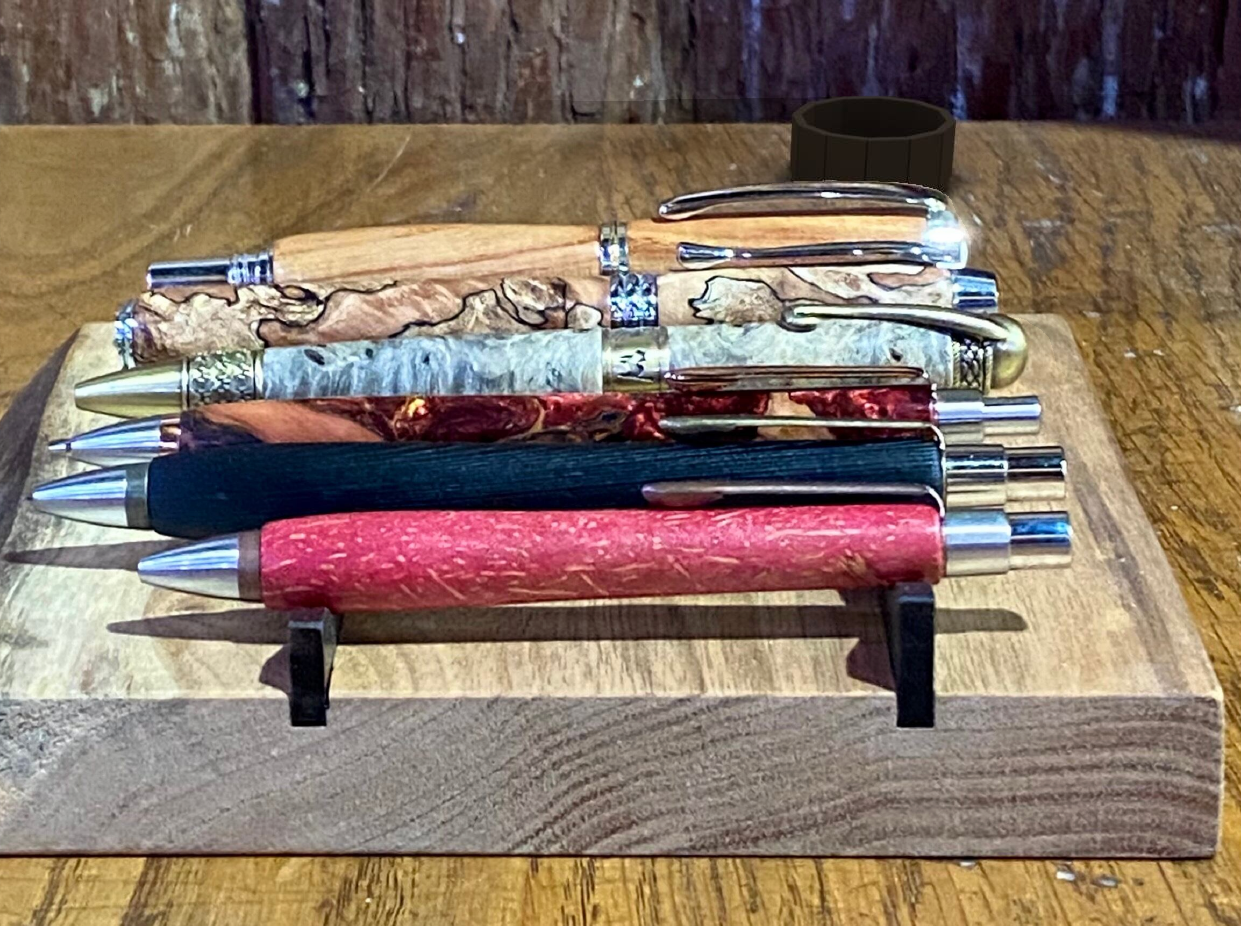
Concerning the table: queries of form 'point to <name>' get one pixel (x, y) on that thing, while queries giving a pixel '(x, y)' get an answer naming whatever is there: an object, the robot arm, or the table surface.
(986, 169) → the table surface
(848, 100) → the dark faceted ring
